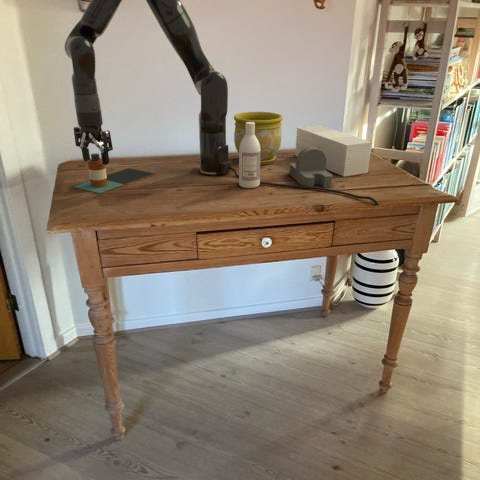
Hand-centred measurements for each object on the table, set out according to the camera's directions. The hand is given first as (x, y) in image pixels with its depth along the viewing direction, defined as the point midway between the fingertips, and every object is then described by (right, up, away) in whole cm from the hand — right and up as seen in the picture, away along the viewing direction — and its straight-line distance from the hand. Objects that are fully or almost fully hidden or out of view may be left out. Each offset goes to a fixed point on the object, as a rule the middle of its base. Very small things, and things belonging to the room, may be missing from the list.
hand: (96, 162), depth 169 cm
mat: (+4, -3, +9) cm, 11 cm away
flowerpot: (+53, +10, +32) cm, 63 cm away
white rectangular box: (+80, +8, +29) cm, 86 cm away
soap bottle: (0, -6, +4) cm, 8 cm away
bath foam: (+50, -6, +6) cm, 50 cm away
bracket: (+71, -3, +11) cm, 72 cm away
